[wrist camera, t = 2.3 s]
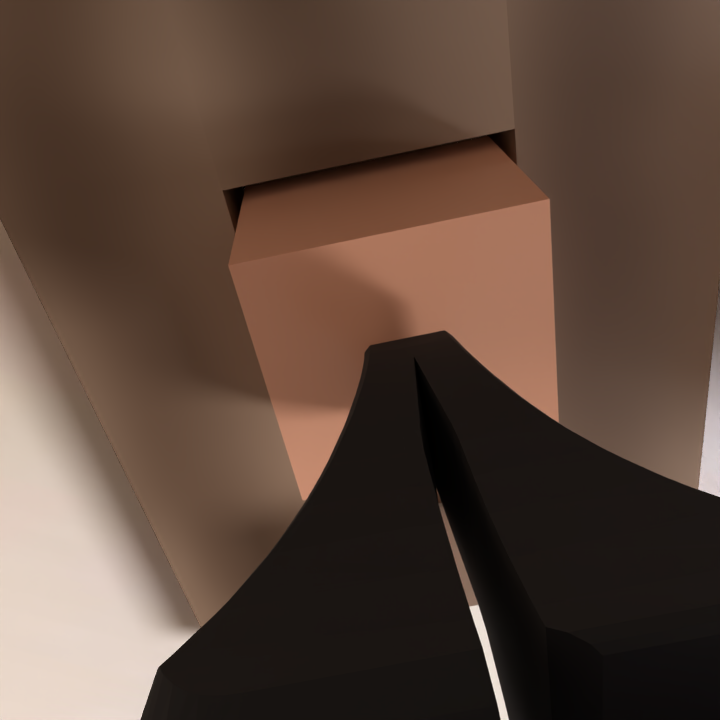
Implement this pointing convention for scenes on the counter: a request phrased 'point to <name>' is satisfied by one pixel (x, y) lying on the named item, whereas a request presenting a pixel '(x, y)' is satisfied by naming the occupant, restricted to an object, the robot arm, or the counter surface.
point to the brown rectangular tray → (335, 148)
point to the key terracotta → (393, 279)
